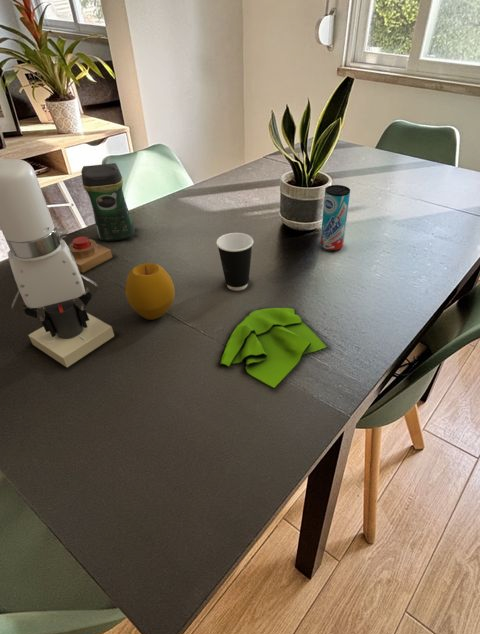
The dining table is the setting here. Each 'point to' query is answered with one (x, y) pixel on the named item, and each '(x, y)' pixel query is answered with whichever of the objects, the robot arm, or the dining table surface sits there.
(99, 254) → the button block
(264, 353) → the cloth
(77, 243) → the button
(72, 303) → the knob
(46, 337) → the panel
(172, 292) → the apple
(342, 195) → the beverage can
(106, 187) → the coffee jar
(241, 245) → the dixie cup
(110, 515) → the dining table surface
